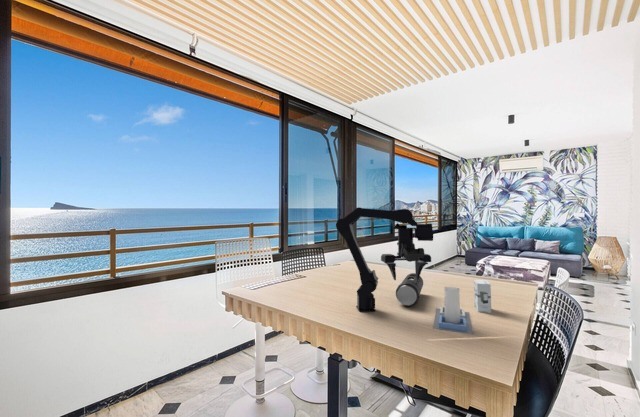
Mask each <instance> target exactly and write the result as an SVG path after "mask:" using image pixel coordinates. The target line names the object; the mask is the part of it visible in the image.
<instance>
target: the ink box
mask: <svg viewBox="0 0 640 417" xmlns="http://www.w3.org/2000/svg"><path fill="white" fill-rule="evenodd" d="M473 281H474V283H473V285H474V287H473V288H474V291H473V292H474V294H473V295H474V296H473V297H474V308H475V310H476V312H477V313H486V314H492V288H491V287H492V285H491V283H490V282H489V280H487V279H474V280H473Z"/></svg>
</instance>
